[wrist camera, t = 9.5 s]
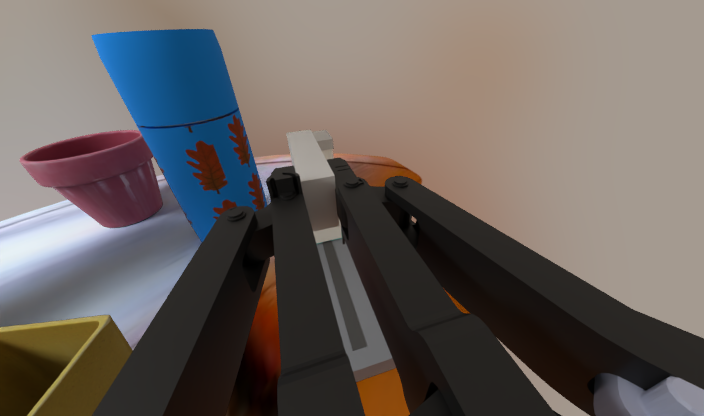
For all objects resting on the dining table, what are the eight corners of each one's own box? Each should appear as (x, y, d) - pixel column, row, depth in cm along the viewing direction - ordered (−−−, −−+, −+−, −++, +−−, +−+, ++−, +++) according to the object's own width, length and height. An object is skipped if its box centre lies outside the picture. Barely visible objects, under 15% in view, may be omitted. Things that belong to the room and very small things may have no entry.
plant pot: (161, 185, 53) (127, 124, 46) (192, 204, 46) (157, 135, 38) (72, 220, 44) (12, 150, 36) (94, 251, 36) (23, 172, 29)
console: (414, 361, 22) (417, 348, 20) (312, 397, 20) (308, 386, 19) (348, 218, 39) (347, 207, 38) (290, 231, 38) (287, 219, 36)
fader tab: (342, 237, 32) (332, 138, 25) (310, 245, 31) (289, 145, 24) (337, 223, 35) (326, 129, 27) (307, 230, 34) (287, 135, 26)
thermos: (281, 208, 43) (234, 29, 29) (253, 252, 34) (166, 28, 20) (223, 206, 44) (152, 36, 30) (182, 248, 36) (54, 37, 22)
